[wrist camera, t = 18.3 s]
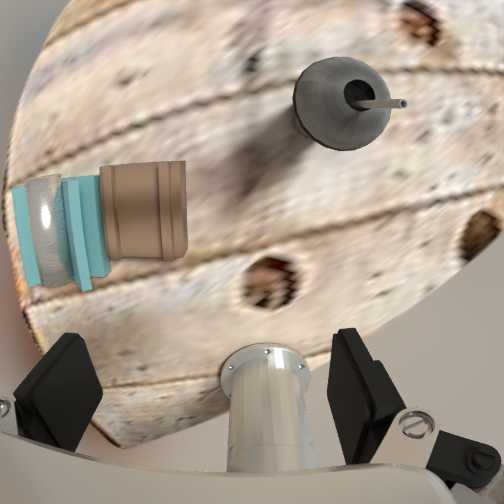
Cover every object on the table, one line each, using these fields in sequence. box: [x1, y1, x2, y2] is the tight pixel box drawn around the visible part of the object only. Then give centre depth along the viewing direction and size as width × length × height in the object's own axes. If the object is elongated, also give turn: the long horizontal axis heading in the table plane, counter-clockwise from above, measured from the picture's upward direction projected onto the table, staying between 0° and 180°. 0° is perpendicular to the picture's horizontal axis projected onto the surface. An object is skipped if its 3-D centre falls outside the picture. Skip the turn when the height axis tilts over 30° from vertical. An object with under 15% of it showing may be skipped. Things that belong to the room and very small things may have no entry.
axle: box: [25, 174, 74, 287], centre depth 29 cm, size 12×4×4 cm, turn 179°
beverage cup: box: [291, 57, 408, 151], centre depth 21 cm, size 7×7×20 cm
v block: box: [12, 175, 111, 292], centre depth 31 cm, size 12×10×6 cm
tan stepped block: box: [99, 161, 188, 261], centre depth 32 cm, size 10×9×4 cm
